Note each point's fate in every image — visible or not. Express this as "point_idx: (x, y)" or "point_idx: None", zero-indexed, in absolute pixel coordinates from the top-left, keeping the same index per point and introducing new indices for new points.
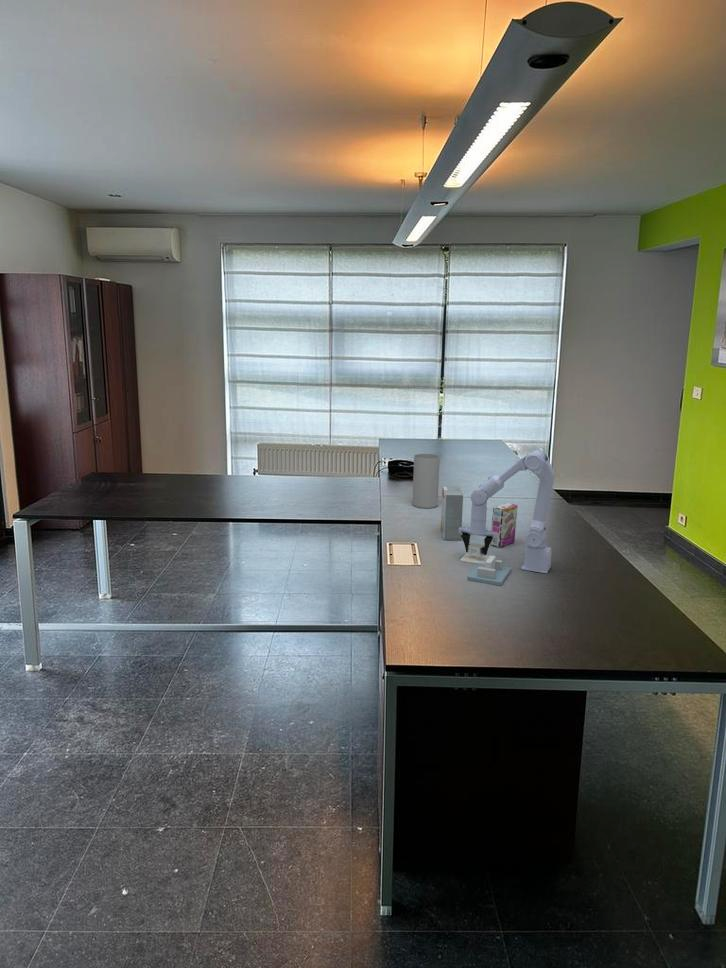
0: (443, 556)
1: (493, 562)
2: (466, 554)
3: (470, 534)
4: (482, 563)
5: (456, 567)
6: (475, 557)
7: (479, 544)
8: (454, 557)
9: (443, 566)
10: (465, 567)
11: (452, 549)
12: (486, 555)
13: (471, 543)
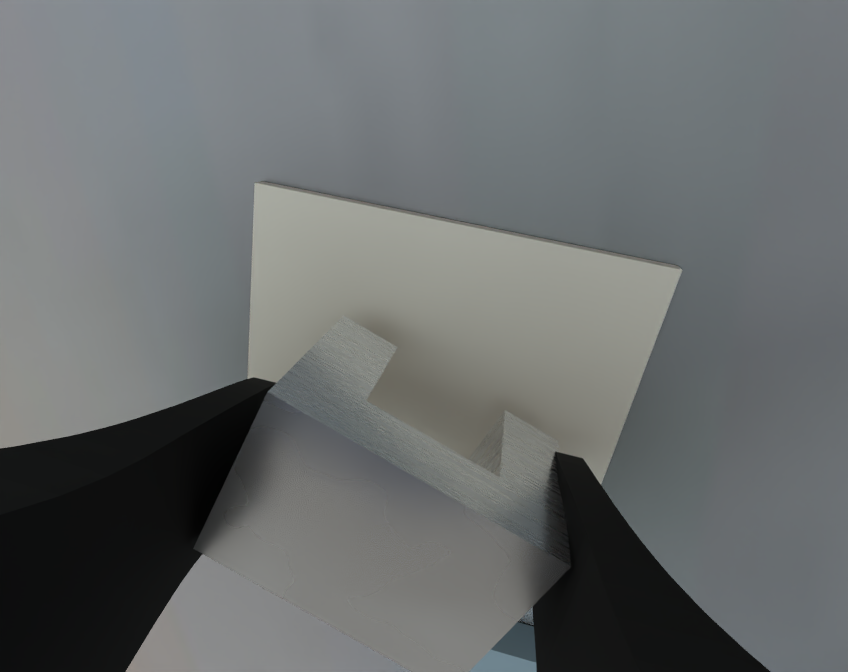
0: (41, 388)
1: None
2: (267, 291)
3: (9, 517)
4: (518, 661)
5: (264, 657)
6: (410, 391)
7: (415, 504)
8: (159, 395)
9: (152, 643)
10: (345, 652)
11: (15, 51)
12: (579, 261)
13: (238, 470)
